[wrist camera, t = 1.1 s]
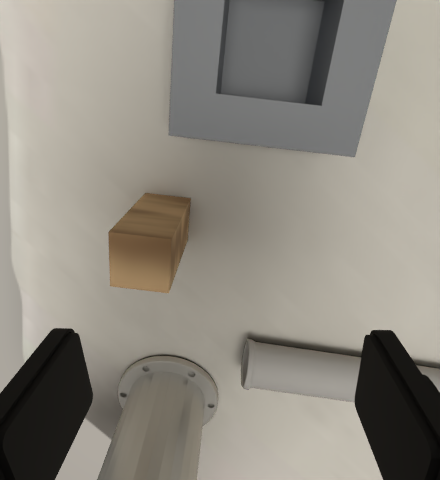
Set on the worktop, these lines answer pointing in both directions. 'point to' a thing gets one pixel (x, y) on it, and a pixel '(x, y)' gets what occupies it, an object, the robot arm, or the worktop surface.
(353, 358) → the tube
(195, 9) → the socket
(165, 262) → the peg
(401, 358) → the robot arm
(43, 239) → the worktop surface
